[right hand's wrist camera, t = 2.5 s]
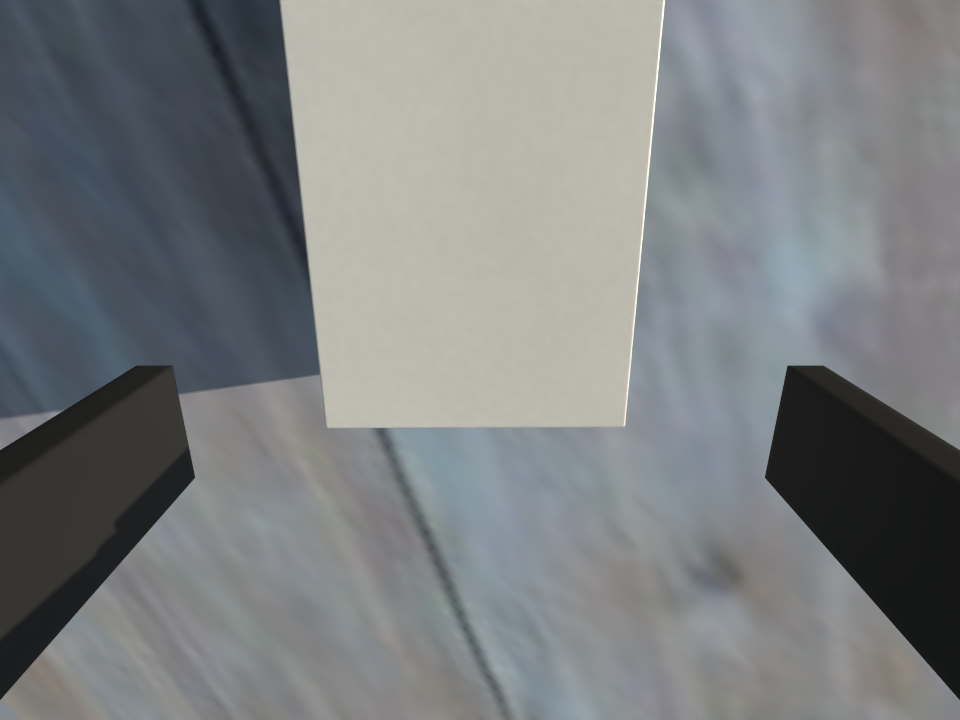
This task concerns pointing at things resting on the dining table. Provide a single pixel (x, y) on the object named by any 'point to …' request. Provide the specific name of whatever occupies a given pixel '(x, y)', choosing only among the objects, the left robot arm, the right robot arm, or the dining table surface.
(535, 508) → the dining table surface
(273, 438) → the dining table surface
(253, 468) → the dining table surface
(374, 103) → the cabinet
